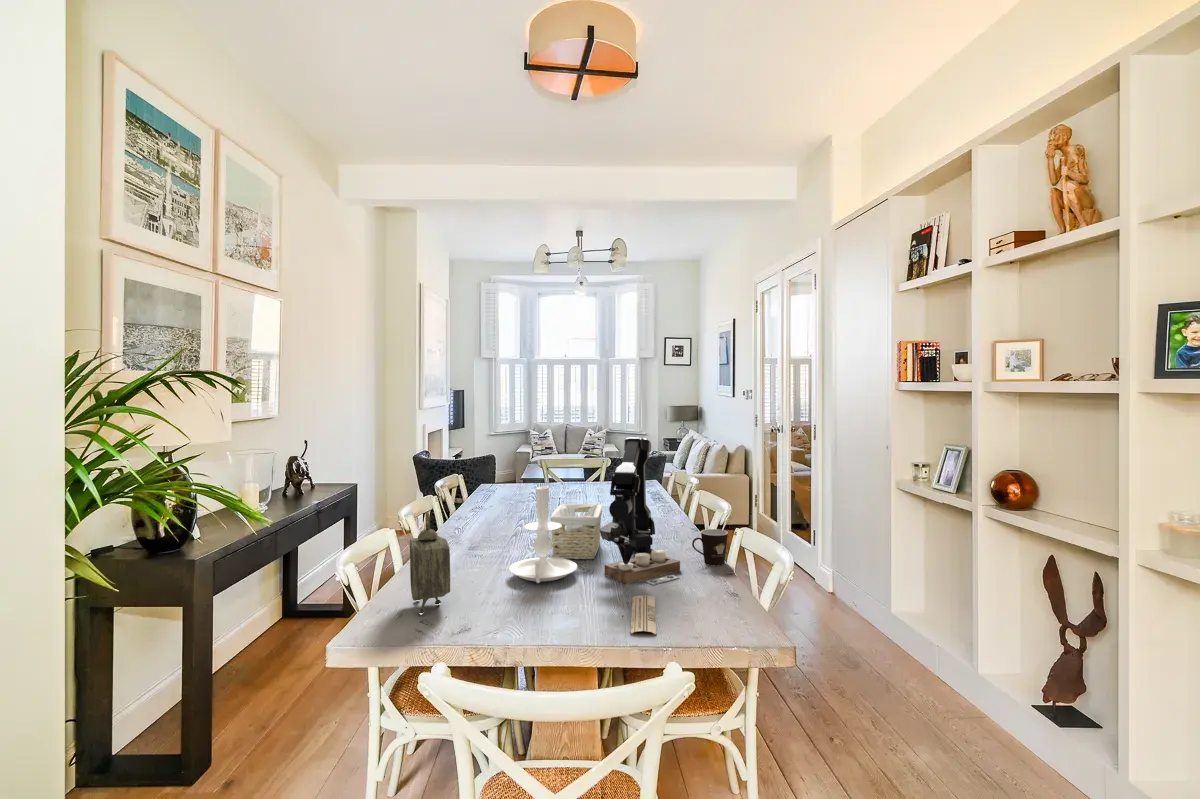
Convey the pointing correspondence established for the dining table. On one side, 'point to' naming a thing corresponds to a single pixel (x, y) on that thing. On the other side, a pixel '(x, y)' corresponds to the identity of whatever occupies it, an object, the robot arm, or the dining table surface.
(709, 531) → the coffee mug
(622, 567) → the button
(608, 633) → the dining table surface
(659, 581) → the card
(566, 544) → the storage basket
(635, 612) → the newspaper
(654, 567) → the wooden compartment tray
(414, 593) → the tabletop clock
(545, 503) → the candlestick
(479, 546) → the dining table surface
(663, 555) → the button
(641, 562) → the button
